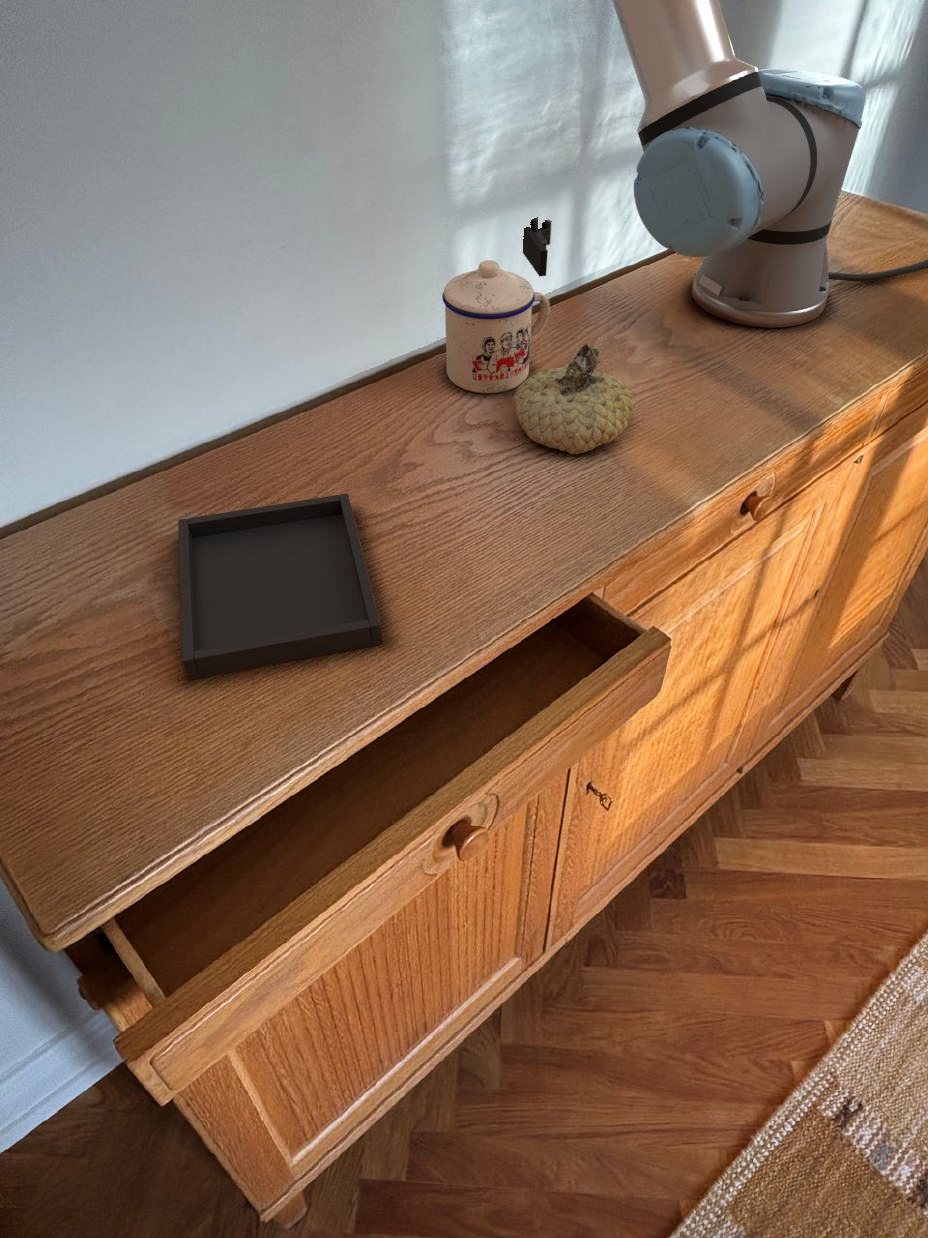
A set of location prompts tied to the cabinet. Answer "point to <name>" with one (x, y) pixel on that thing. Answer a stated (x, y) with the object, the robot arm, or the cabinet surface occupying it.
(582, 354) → the acorn cap
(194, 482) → the cabinet surface
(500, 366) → the teacup with lid
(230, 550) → the square black tray
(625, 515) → the cabinet surface
